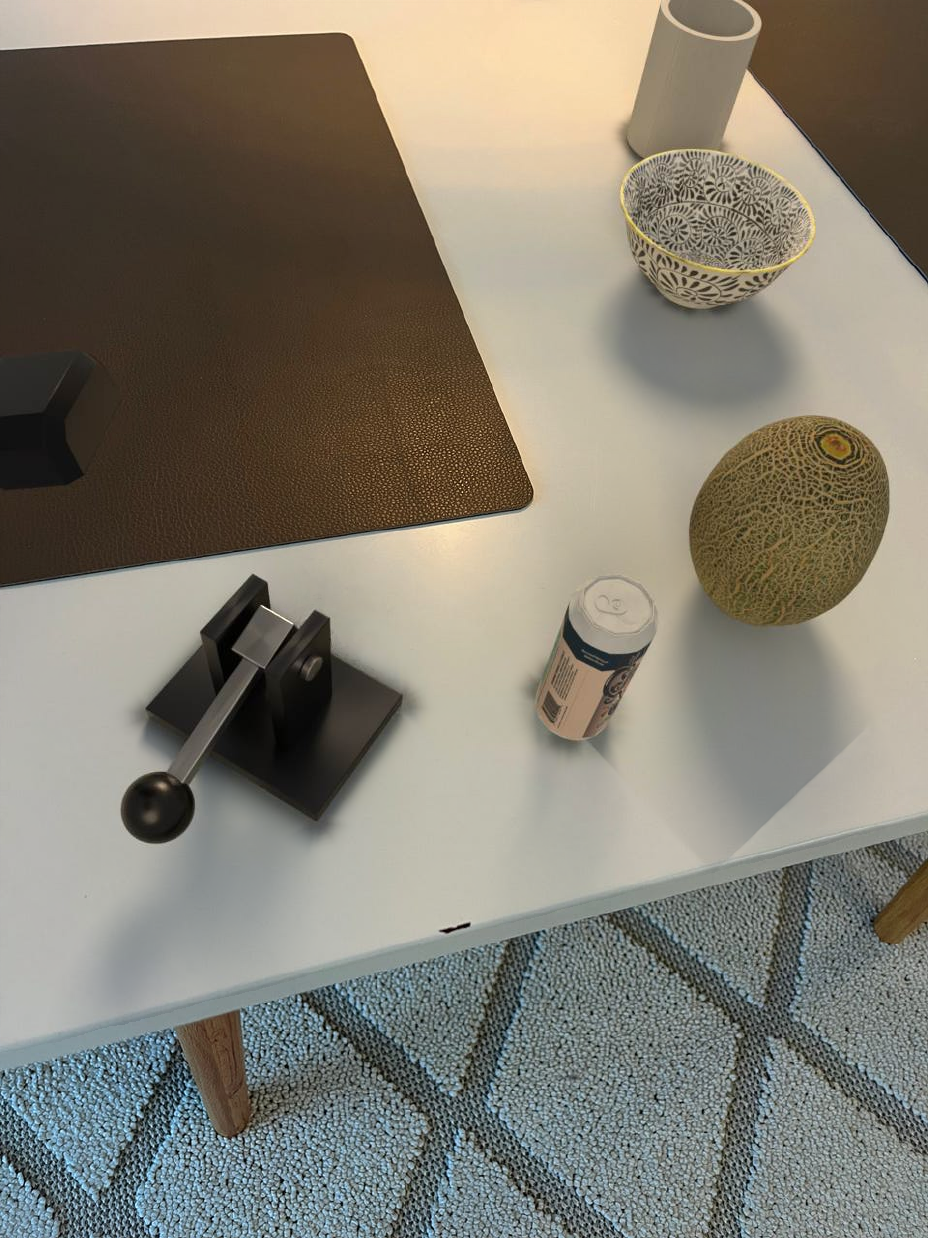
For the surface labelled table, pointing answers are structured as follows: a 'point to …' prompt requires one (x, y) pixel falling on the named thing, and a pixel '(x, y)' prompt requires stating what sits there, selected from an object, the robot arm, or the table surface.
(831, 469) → the fruit
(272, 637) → the ball knob lever
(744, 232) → the bowl
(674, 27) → the cup
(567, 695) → the beer can
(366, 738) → the lever base
